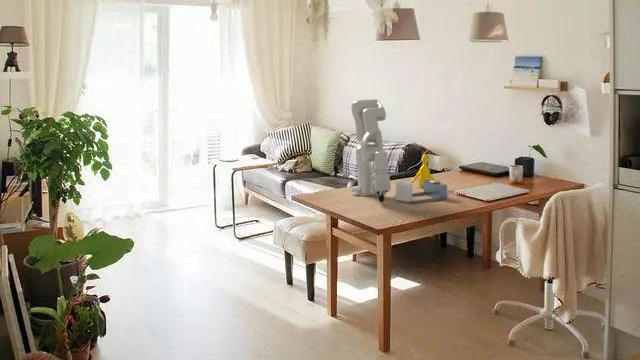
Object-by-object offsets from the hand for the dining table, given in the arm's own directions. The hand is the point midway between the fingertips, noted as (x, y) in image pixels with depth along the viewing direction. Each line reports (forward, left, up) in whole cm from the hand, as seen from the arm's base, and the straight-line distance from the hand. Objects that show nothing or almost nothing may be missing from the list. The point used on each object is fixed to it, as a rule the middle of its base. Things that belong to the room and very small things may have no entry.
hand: (381, 201), depth 348 cm
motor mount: (+27, 0, -1) cm, 27 cm away
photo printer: (+15, 0, -1) cm, 15 cm away
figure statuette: (+45, +28, -1) cm, 53 cm away
